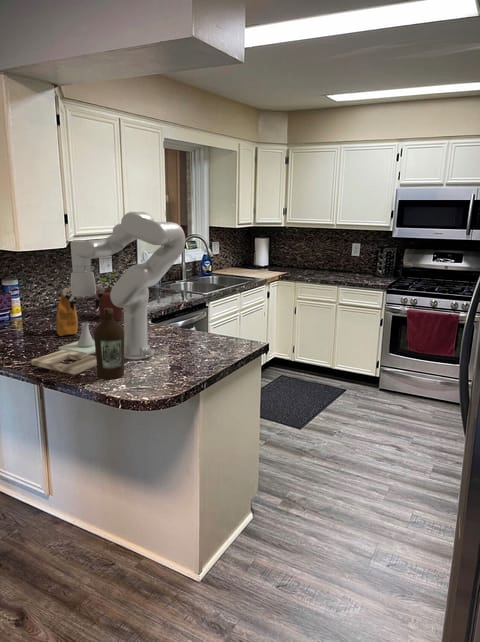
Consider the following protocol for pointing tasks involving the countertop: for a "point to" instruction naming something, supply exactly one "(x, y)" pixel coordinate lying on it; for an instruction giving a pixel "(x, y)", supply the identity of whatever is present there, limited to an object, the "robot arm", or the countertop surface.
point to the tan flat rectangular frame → (73, 368)
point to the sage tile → (78, 348)
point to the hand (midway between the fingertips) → (85, 309)
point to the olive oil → (109, 347)
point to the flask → (85, 337)
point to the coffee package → (66, 318)
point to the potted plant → (108, 303)
